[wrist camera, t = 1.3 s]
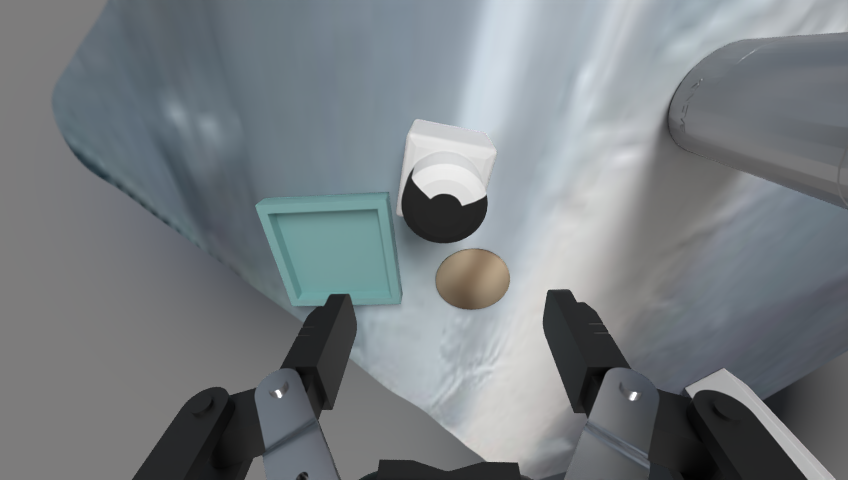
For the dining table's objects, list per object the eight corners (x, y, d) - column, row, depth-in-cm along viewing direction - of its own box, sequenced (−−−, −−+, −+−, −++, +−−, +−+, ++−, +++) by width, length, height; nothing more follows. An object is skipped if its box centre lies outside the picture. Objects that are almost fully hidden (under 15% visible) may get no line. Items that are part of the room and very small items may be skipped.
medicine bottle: (469, 199, 33) (481, 262, 23) (403, 187, 33) (386, 245, 23) (487, 131, 30) (511, 170, 19) (414, 117, 29) (399, 148, 19)
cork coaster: (511, 247, 36) (512, 249, 36) (506, 306, 40) (507, 308, 40) (434, 249, 37) (434, 252, 36) (437, 307, 41) (437, 310, 41)
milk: (722, 367, 44) (938, 598, 25) (746, 384, 46) (966, 615, 27) (682, 388, 47) (850, 612, 28) (706, 403, 48) (881, 626, 29)
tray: (388, 192, 33) (385, 199, 32) (402, 293, 40) (400, 304, 39) (264, 198, 34) (255, 205, 33) (298, 295, 41) (292, 306, 40)
